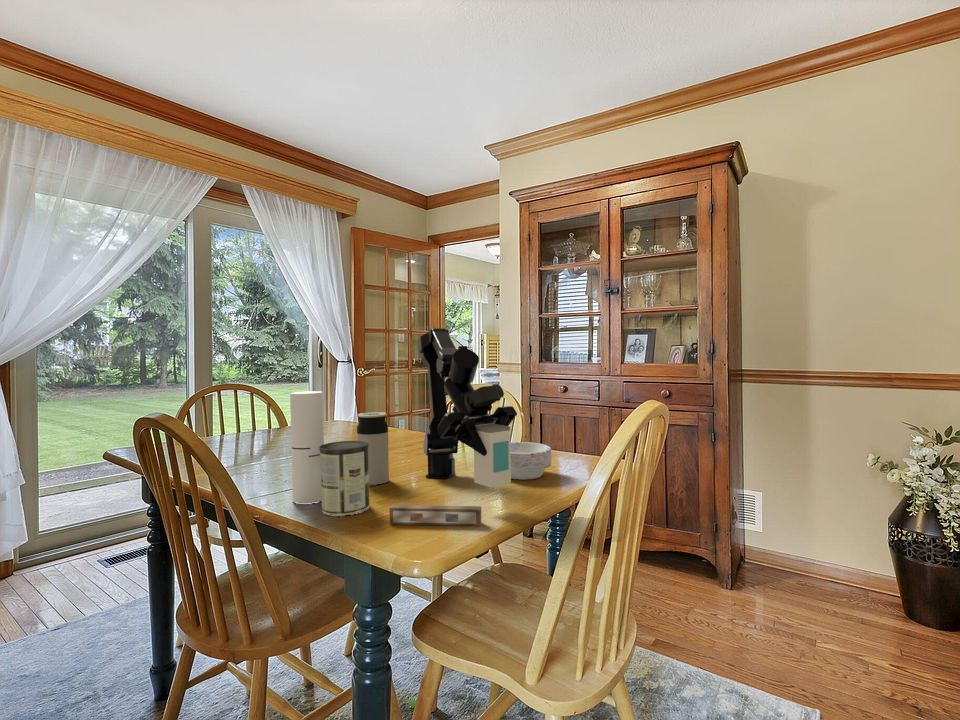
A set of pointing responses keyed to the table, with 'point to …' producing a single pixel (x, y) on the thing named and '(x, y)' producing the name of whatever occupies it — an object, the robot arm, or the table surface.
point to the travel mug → (375, 445)
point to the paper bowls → (529, 460)
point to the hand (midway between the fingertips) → (496, 452)
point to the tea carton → (493, 456)
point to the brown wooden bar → (435, 515)
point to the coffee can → (344, 477)
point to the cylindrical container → (306, 445)
